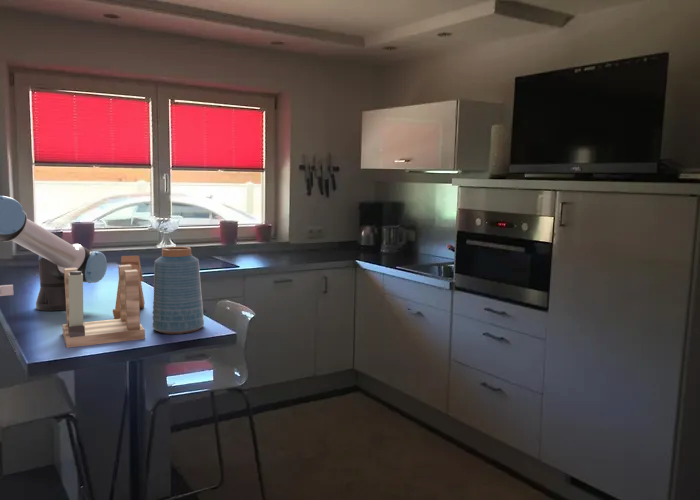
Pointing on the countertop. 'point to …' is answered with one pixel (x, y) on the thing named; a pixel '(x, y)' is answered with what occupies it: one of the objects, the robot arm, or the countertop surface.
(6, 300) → the countertop surface
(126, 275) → the wooden rack
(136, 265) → the tan wooden piece
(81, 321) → the stool leg
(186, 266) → the vase
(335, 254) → the countertop surface
